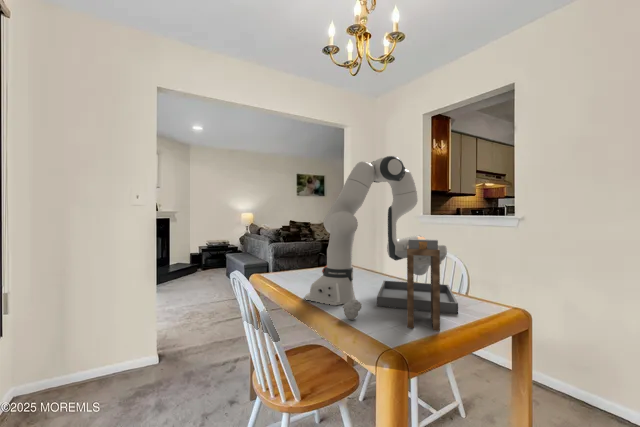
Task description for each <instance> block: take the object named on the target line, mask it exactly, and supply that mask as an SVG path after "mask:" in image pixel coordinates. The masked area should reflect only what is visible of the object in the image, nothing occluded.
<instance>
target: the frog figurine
mask: <svg viewBox="0 0 640 427" xmlns="http://www.w3.org/2000/svg"><path fill="white" fill-rule="evenodd" d="M362 305H363V304H362V303H361V301H359V300H358V299H352V300H351V301H349V302H347V303H345V304H342V306H341V308H342V309H343V313H344V317H346V319H347V320H350V321H351V320H352V321H353V320H355V319H356V318H357V317H358V316H359V311H360V310H361V309H362Z"/></svg>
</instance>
